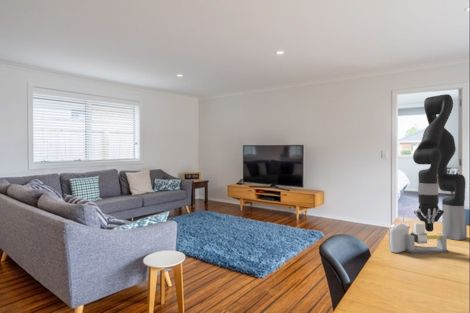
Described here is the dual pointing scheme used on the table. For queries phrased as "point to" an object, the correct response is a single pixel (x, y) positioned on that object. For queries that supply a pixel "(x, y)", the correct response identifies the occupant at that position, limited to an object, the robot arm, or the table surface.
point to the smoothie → (406, 225)
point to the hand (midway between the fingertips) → (429, 231)
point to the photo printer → (397, 237)
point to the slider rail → (419, 250)
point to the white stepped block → (420, 233)
